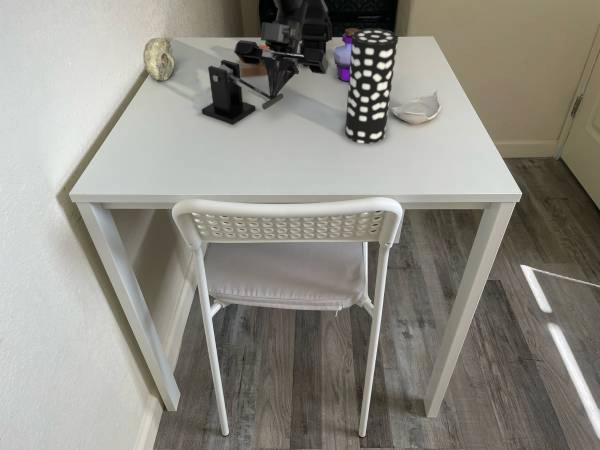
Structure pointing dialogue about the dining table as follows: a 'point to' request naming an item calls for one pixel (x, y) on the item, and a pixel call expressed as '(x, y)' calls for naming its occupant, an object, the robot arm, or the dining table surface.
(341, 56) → the potion bottle
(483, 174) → the dining table surface
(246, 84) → the lever
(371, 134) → the white-spotted black cylinder
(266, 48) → the button
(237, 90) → the bracket
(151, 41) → the stone ring
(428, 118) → the pottery shard
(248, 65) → the control block
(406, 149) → the dining table surface
